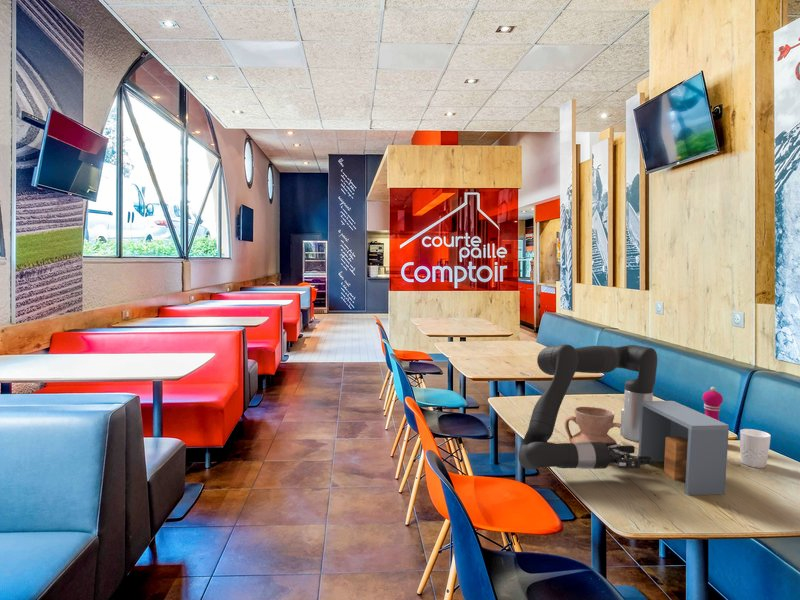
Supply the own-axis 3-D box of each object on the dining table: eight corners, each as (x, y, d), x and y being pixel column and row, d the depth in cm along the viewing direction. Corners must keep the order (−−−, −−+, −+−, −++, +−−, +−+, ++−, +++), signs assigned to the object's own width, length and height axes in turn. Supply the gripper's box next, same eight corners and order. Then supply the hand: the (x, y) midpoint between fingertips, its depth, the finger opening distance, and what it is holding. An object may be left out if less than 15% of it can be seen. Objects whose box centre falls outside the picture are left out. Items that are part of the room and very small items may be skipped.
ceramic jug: (625, 452, 170) (626, 409, 169) (615, 465, 158) (616, 420, 157) (571, 441, 180) (571, 401, 180) (557, 453, 169) (558, 410, 168)
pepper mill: (725, 447, 176) (729, 389, 174) (702, 445, 177) (706, 388, 176) (717, 440, 183) (720, 385, 181) (695, 438, 184) (698, 383, 183)
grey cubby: (687, 495, 139) (691, 425, 137) (638, 460, 163) (640, 401, 162) (724, 493, 140) (729, 425, 138) (669, 459, 164) (673, 400, 163)
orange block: (674, 479, 149) (676, 442, 148) (663, 472, 154) (665, 436, 153) (690, 479, 149) (692, 442, 148) (679, 472, 154) (681, 436, 153)
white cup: (765, 461, 163) (767, 431, 163) (771, 470, 156) (773, 438, 155) (736, 457, 167) (738, 427, 166) (740, 466, 159) (742, 434, 159)
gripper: (600, 451, 141) (656, 451, 142) (578, 434, 155) (629, 434, 157) (599, 478, 141) (655, 477, 143) (577, 458, 156) (628, 457, 157)
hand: (641, 454), depth 150 cm, fingers open, 8 cm apart
